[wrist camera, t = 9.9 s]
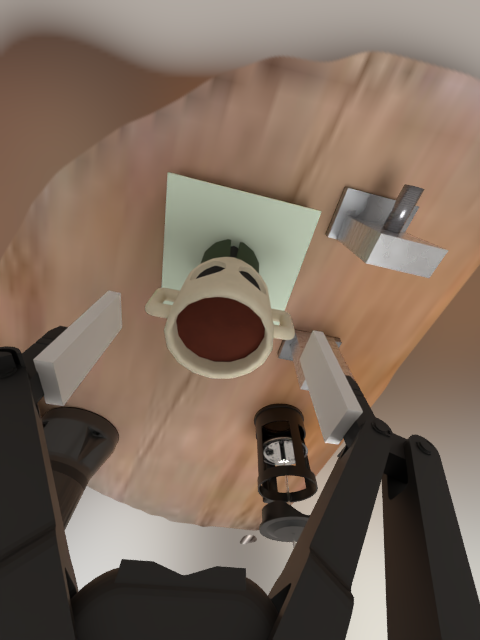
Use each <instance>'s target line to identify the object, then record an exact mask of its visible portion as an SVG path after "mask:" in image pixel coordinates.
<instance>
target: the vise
mask: <svg viewBox="0 0 480 640" xmlns="http://www.w3.org/2000/svg"><path fill="white" fill-rule="evenodd" d="M423 191H424V189H422V188H419V187H415V186H411V185H404V187H403V188H402V190H401V192H400V194H399V196H398V198H397V200H392V199H388V198H385V197H381V196H377V195H373V194H370V193H366V192H362V191H359V190H355V189H351V188H347V187H345V188H344V191H343V193H342V196H341V198H340V201H339V203H338V206H337V208H336V211H335V213H334V216H333V218H332V221H331V223H330V225H329V228H328V230H327V233H326V236H328V237H330V238H334V239H337V240H338V241H339V242H341V243H342V244H343V245H344V246H346V247H347V248H348V249H349V250H350V251H352V252H353V253H354V254H355V255H357V256H358V257H359V258H360V259H361V260H363V261H364V262H365V263H367V264H371V265H376V266H380V267H384V268H388V269H393V270H397V271H401V272H405V273H409V274H414V275H418V276H422V277H426V278H430V276H431V275H432V273H433V272H434V270H435V269H436V268H437V266H438V265H439V263H440V262H441V260H442V259H443V257H444V256H445V255H446V253H447V252H448V250H446V249H444V248H441V247H439V246H437V245H434V244H432V243H430V242H427V241H425V240H422V239H420V238H418V237H415V236H413V235H411V234H408V233H406V232H405V231H406V229H407V228H408V226H409V224H410V222H411V221H412V219H413V217H414V215H415V214H416V212H417V210H418V208H419V207H418V206H415V205H416V203H417V201H418V200H419V198H420V196H421V194H422V193H423ZM310 335H311V333H309V332H304V331H299V330H295V336H294V338H293V339H291V340H283V342H282V345H281V347H280V350H279V352H278V358H280V359H286V360H291V361H294V365H295V369H296V374H297V378H298V382H299V386H300V389H303V390H309V389H308V386H307V383H306V379H305V376H304V373H303V369H302V366H301V363H300V360H299V359H300V357H301V355H302V353H303V350H304V348H305V346H306V344H307V342H308V340H309V338H310ZM325 337H326V339H327V341H328V343H329V345H330V347H331V349H332V351H333V353H334V355H335V357H336V359H337V361H338V363H339V365H340V367H341V369H342V371H343V373H344V375H347V376H351V377H352V378H353V379H354V377H353V375H352V373H351V371H350V369H349V368H348V366H347V364H346V362H345V360H344V358H343V356H342V354H341V352H340V350H339V347H340V345H341V343H342V342H341V340H340V339H339V338H334V337H329V336H325ZM354 380H355V379H354ZM355 382H356V381H355Z"/></svg>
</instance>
